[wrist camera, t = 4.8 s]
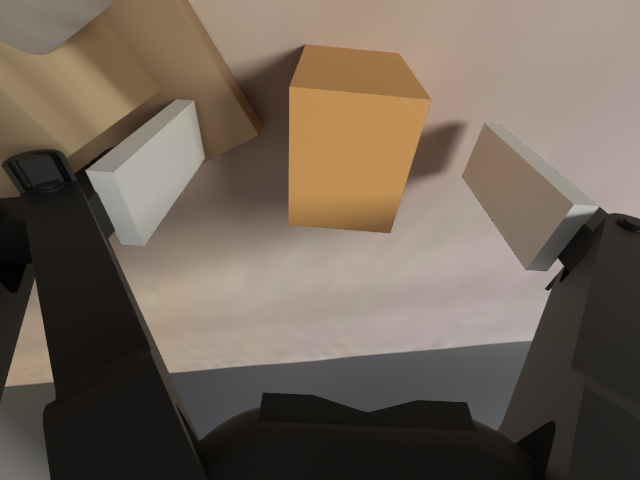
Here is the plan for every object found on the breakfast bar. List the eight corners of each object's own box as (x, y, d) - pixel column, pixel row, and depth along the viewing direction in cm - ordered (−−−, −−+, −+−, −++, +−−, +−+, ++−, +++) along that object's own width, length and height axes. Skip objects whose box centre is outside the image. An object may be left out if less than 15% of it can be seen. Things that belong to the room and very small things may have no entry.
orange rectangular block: (305, 44, 13) (289, 86, 8) (398, 53, 13) (431, 99, 9) (301, 153, 16) (288, 224, 12) (375, 160, 16) (390, 233, 12)
